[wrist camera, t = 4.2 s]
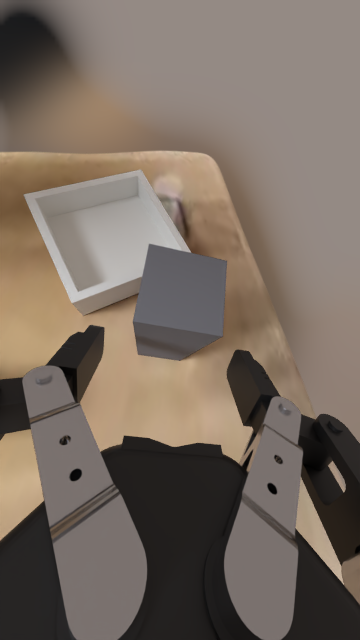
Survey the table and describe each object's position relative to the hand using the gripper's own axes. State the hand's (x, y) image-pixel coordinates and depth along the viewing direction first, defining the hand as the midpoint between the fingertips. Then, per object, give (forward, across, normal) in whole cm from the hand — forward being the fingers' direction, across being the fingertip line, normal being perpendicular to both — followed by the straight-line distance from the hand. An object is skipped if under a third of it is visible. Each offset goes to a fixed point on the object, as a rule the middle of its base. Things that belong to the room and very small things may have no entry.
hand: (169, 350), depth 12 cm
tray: (+15, +7, -2) cm, 17 cm away
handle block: (+8, 0, +4) cm, 9 cm away
